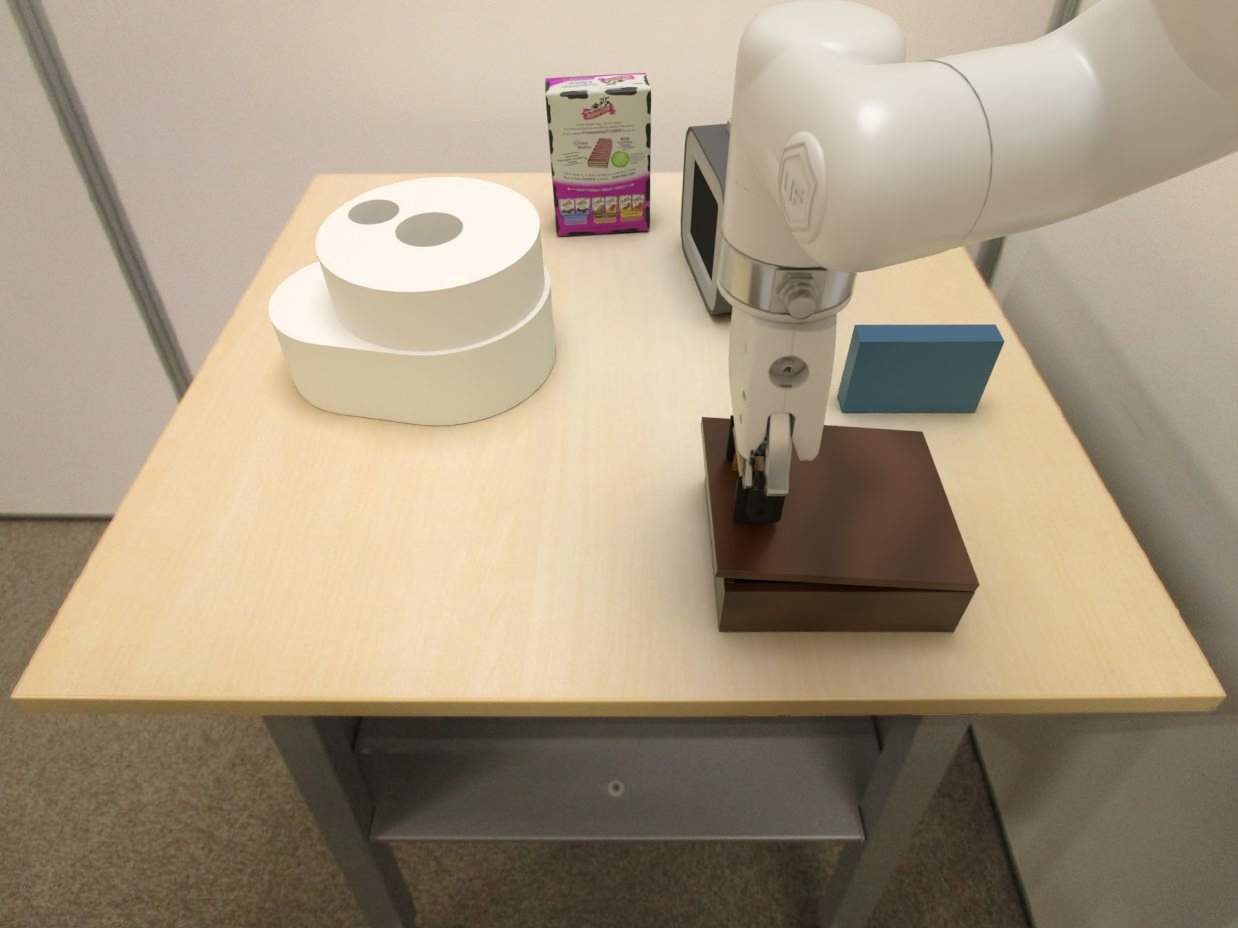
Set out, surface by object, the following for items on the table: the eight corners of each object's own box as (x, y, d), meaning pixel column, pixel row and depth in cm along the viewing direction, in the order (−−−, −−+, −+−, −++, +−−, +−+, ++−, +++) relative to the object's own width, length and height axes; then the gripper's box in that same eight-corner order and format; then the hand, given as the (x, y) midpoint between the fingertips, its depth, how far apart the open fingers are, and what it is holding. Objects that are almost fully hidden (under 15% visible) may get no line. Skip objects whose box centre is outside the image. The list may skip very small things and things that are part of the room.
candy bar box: (645, 211, 99) (648, 70, 87) (650, 232, 95) (654, 88, 84) (553, 216, 98) (543, 75, 86) (555, 237, 95) (545, 93, 83)
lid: (715, 577, 53) (729, 526, 49) (700, 424, 63) (711, 372, 59) (975, 591, 54) (1008, 542, 50) (919, 438, 64) (943, 388, 60)
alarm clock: (679, 242, 94) (686, 106, 82) (773, 234, 95) (793, 98, 84) (713, 326, 82) (728, 180, 71) (820, 314, 84) (851, 170, 72)
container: (306, 311, 85) (264, 188, 75) (545, 289, 87) (535, 167, 77) (281, 443, 71) (225, 313, 61) (566, 412, 73) (556, 282, 64)
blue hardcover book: (841, 412, 73) (860, 341, 67) (837, 395, 75) (854, 324, 69) (975, 412, 73) (1005, 341, 67) (967, 395, 75) (995, 324, 69)
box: (718, 631, 57) (724, 592, 54) (704, 480, 67) (708, 439, 64) (954, 632, 57) (975, 592, 54) (904, 480, 67) (919, 439, 64)
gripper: (890, 359, 38) (824, 587, 51) (831, 187, 50) (789, 407, 63) (731, 358, 38) (705, 586, 51) (709, 187, 50) (692, 407, 63)
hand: (752, 486), depth 57 cm, fingers closed on lid, 5 cm apart
